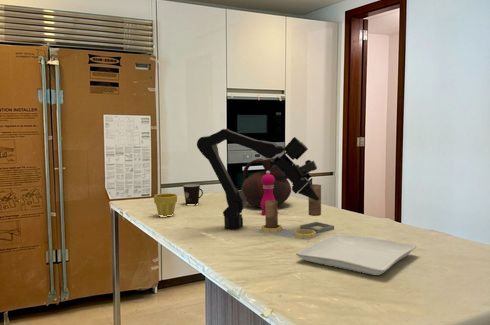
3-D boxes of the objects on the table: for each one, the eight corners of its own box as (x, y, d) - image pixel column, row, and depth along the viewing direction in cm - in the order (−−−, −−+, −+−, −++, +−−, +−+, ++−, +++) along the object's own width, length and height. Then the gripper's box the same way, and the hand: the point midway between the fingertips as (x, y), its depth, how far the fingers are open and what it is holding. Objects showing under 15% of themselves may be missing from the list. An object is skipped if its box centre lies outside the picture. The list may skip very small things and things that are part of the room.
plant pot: (180, 216, 195) (179, 195, 194) (158, 219, 191) (157, 197, 190) (174, 212, 205) (173, 192, 204) (152, 215, 200) (151, 194, 199)
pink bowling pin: (258, 215, 196) (257, 171, 194) (264, 212, 202) (264, 169, 200) (272, 216, 192) (271, 171, 190) (279, 213, 199) (278, 170, 197)
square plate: (337, 242, 150) (337, 231, 150) (417, 256, 133) (417, 244, 132) (294, 263, 129) (294, 250, 129) (383, 283, 112) (383, 268, 111)
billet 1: (271, 232, 159) (270, 203, 158) (263, 230, 163) (262, 201, 162) (280, 230, 162) (280, 201, 161) (272, 228, 166) (271, 199, 165)
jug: (256, 199, 234) (255, 154, 232) (299, 203, 221) (298, 154, 219) (231, 208, 213) (230, 157, 211) (277, 212, 200) (276, 159, 198)
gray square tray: (317, 236, 157) (317, 229, 157) (300, 231, 164) (300, 225, 164) (334, 232, 162) (334, 225, 162) (316, 227, 170) (316, 221, 169)
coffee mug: (181, 203, 227) (181, 185, 226) (197, 202, 231) (196, 183, 230) (188, 207, 217) (187, 188, 216) (204, 205, 220) (204, 186, 219)
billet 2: (314, 216, 157) (314, 186, 156) (305, 214, 161) (305, 185, 160) (323, 214, 159) (323, 185, 158) (315, 212, 163) (315, 184, 162)
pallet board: (256, 234, 162) (256, 227, 161) (270, 229, 169) (270, 222, 168) (307, 243, 148) (307, 236, 148) (320, 237, 155) (320, 230, 155)
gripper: (301, 155, 150) (333, 187, 148) (306, 151, 168) (335, 180, 166) (278, 177, 152) (310, 209, 151) (286, 171, 170) (314, 199, 169)
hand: (318, 198), depth 159 cm, fingers closed on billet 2, 5 cm apart
